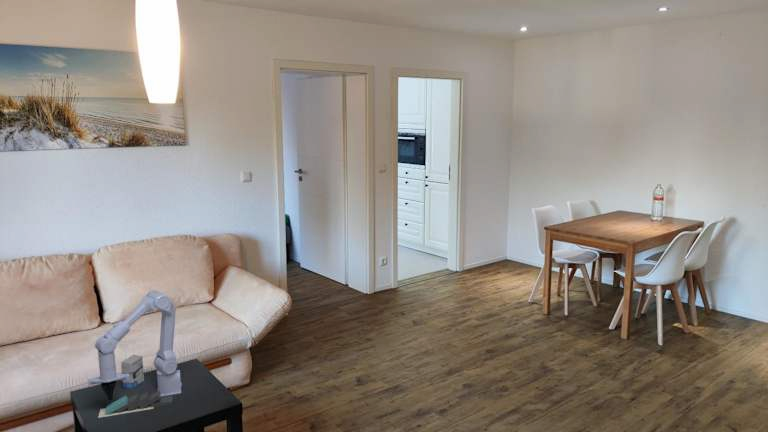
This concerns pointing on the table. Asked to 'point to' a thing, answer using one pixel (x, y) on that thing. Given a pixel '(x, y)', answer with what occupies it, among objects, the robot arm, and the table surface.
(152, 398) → the tile
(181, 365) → the table surface
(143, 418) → the table surface
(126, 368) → the ink box
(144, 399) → the tile
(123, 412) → the mat
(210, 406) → the table surface
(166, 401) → the tile
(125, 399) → the tile teal
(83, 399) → the table surface
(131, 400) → the tile
